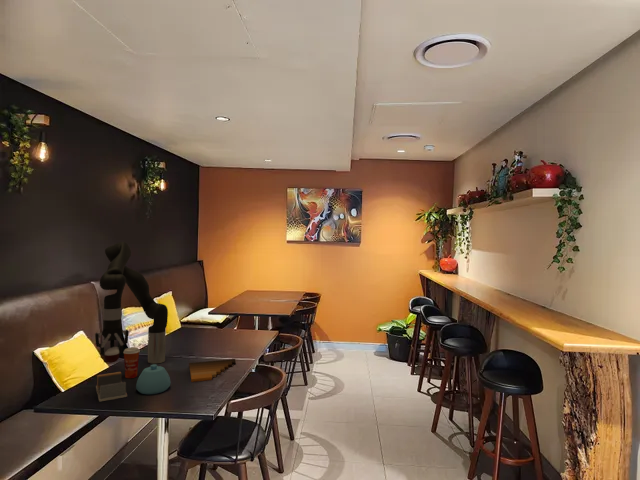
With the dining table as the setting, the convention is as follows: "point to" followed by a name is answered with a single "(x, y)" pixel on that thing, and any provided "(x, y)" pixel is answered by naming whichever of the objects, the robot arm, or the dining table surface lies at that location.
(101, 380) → the sliding jaw
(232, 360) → the pan flute
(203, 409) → the dining table surface
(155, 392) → the teal dome lid
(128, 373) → the paper cup
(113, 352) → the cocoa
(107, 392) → the beige napkin holder
